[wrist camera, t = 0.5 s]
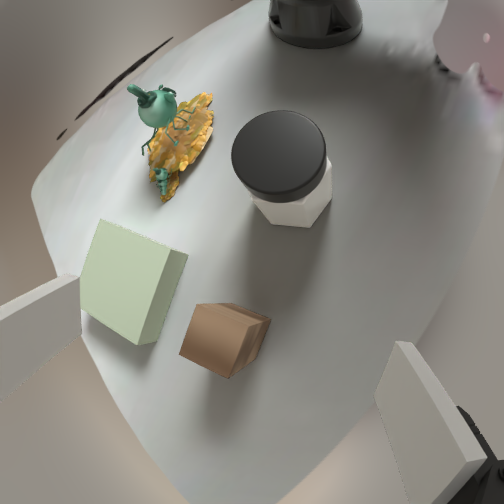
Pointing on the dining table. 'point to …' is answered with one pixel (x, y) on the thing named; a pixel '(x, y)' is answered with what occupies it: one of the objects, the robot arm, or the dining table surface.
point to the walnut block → (224, 337)
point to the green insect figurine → (173, 133)
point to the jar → (284, 167)
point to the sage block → (129, 282)
